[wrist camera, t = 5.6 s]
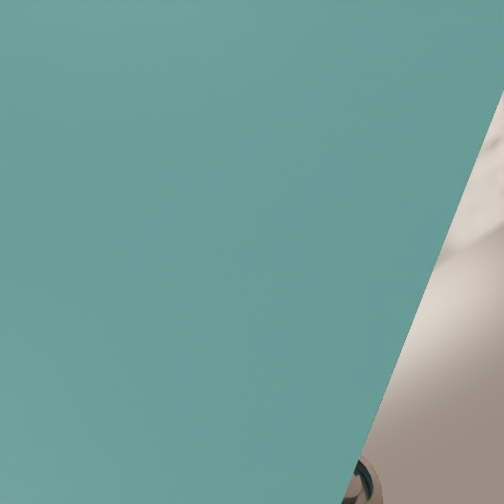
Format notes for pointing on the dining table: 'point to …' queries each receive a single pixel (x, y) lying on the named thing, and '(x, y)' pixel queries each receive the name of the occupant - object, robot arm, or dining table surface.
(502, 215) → the dining table surface
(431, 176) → the door
